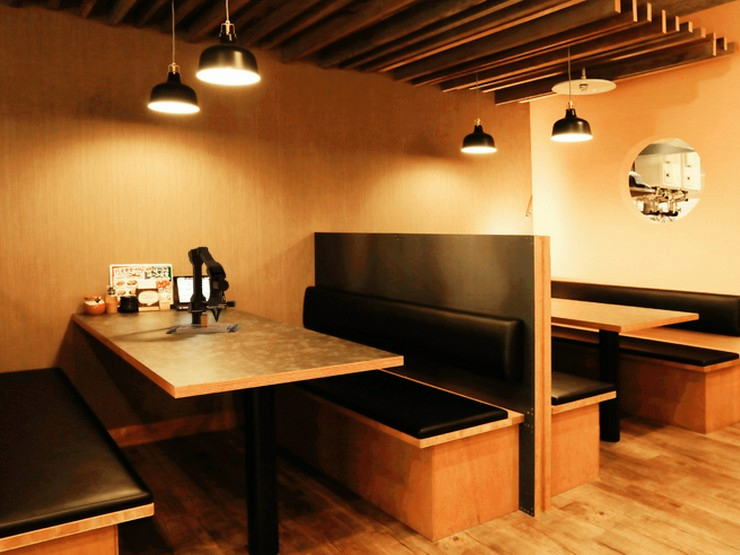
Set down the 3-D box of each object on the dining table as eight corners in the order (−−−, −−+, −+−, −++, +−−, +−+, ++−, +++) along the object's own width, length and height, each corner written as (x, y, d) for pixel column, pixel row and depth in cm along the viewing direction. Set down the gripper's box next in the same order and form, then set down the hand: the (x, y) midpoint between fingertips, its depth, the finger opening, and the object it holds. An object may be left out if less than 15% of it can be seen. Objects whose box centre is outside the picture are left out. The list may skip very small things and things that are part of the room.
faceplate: (184, 328, 315) (184, 324, 315) (232, 327, 316) (232, 322, 316) (176, 333, 300) (176, 328, 300) (227, 331, 301) (226, 327, 301)
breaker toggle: (202, 324, 310) (202, 313, 310) (209, 324, 310) (208, 313, 310) (201, 326, 306) (200, 314, 306) (207, 326, 306) (206, 314, 306)
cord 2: (235, 326, 318) (235, 323, 317) (241, 326, 318) (241, 323, 318) (229, 332, 300) (228, 328, 300) (235, 332, 300) (235, 328, 300)
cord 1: (175, 328, 316) (175, 325, 316) (181, 328, 316) (181, 325, 316) (165, 333, 299) (165, 330, 299) (172, 333, 299) (172, 330, 299)
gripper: (192, 292, 299) (193, 324, 300) (232, 291, 300) (233, 323, 301) (197, 290, 310) (199, 321, 311) (235, 289, 311) (237, 320, 312)
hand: (216, 321), depth 308 cm, fingers closed
